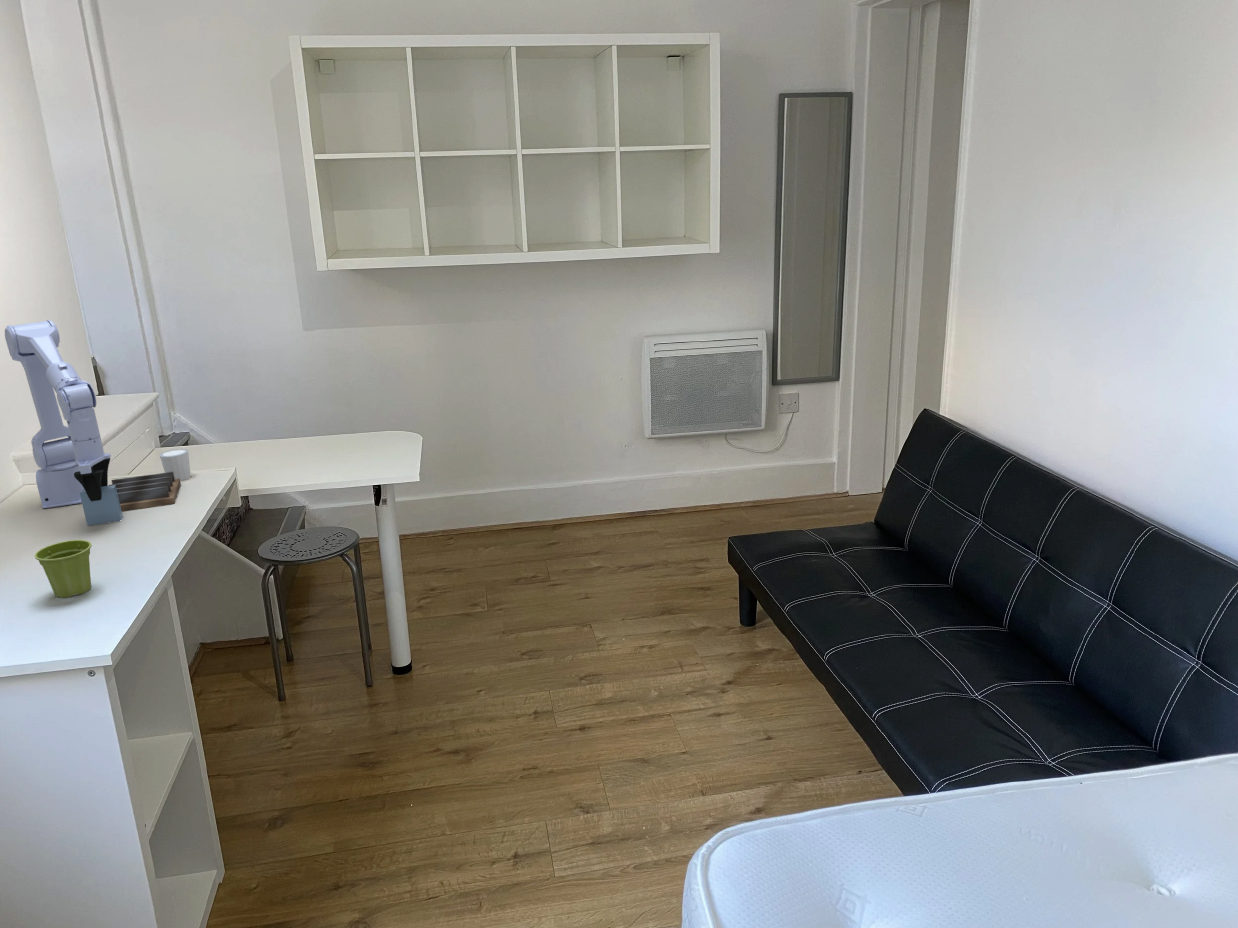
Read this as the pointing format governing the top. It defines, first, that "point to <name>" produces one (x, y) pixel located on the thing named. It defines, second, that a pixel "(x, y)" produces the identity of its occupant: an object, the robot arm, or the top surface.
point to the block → (102, 507)
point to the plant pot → (67, 567)
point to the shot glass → (176, 463)
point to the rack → (147, 490)
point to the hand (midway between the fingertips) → (99, 495)
